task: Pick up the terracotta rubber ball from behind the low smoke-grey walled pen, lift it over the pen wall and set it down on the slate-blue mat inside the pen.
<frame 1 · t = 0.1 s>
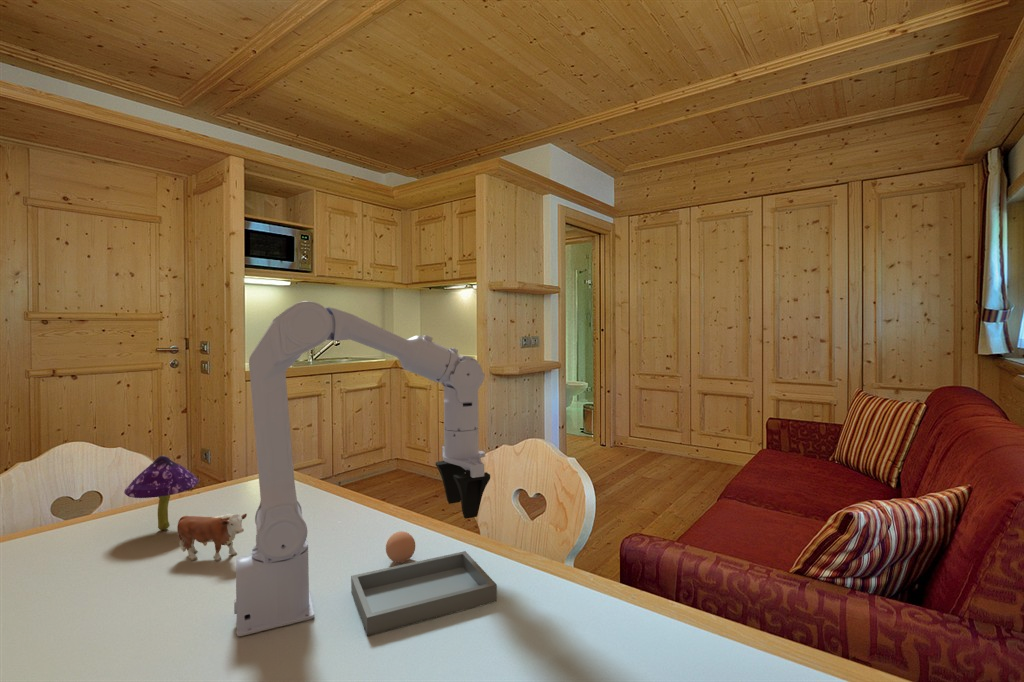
hand: (462, 509, 84), 10 cm above the table, tool pointing down, fingers open, 7 cm apart
decorative mushroom: (164, 530, 102), on the table
walled pen: (422, 596, 76), on the table
bull figurine: (214, 558, 90), on the table
ball: (400, 546, 87), point 2 cm above the table
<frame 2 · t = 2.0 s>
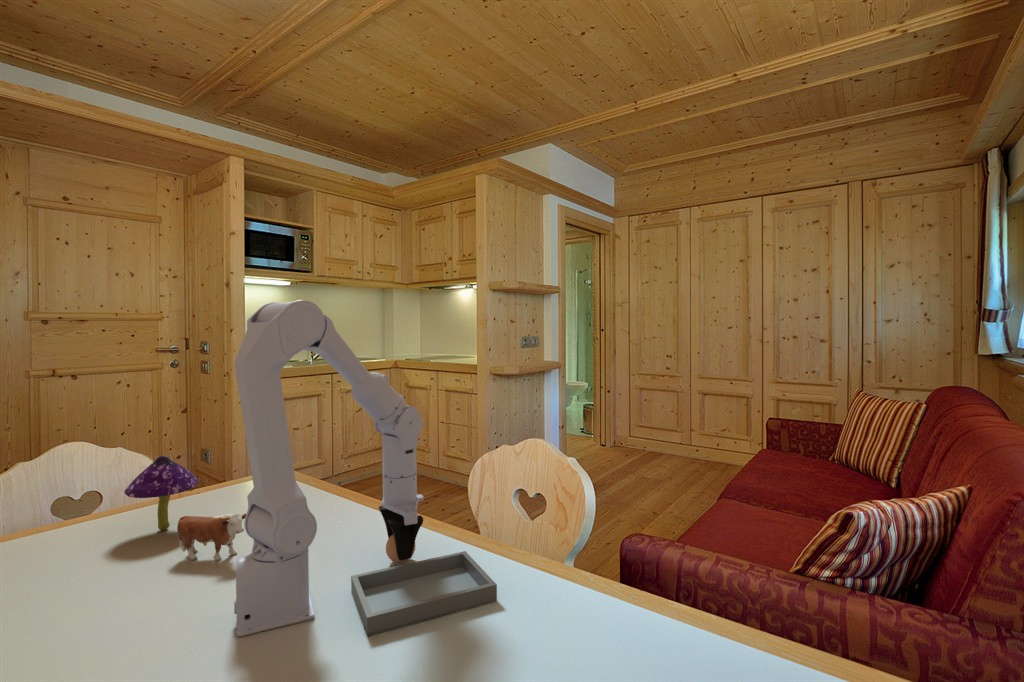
hand: (400, 552, 87), 2 cm above the table, tool pointing down, fingers closed on ball, 5 cm apart
ball: (400, 546, 87), point 2 cm above the table, touching gripper
everything else where it was.
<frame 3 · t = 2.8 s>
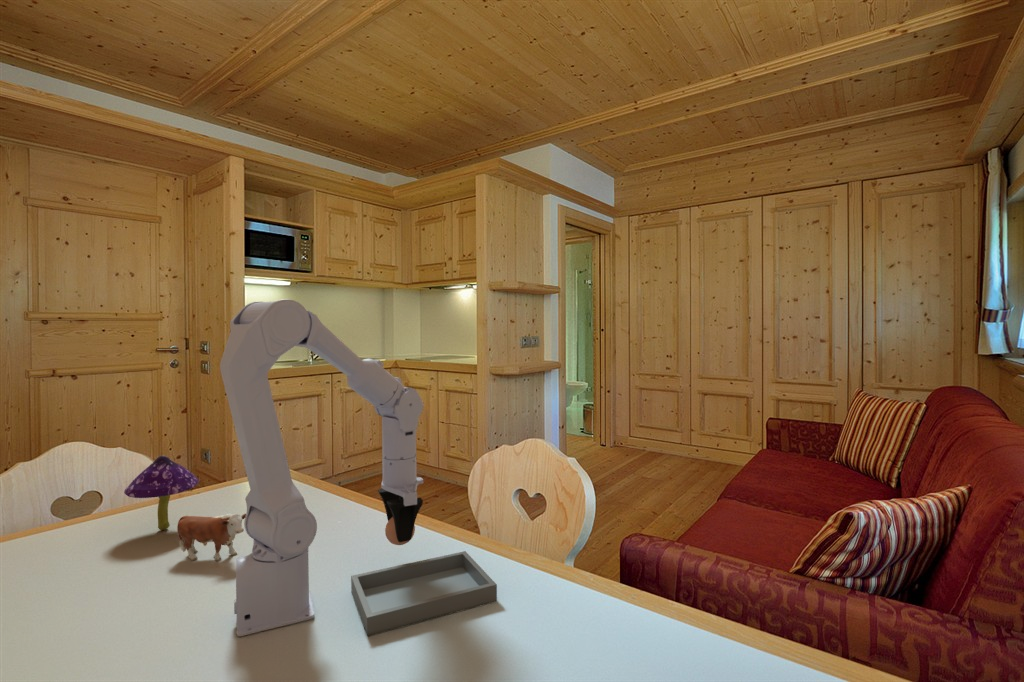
hand: (400, 534, 87), 5 cm above the table, tool pointing down, fingers closed on ball, 5 cm apart
ball: (400, 529, 87), point 6 cm above the table, touching gripper
everything else where it was.
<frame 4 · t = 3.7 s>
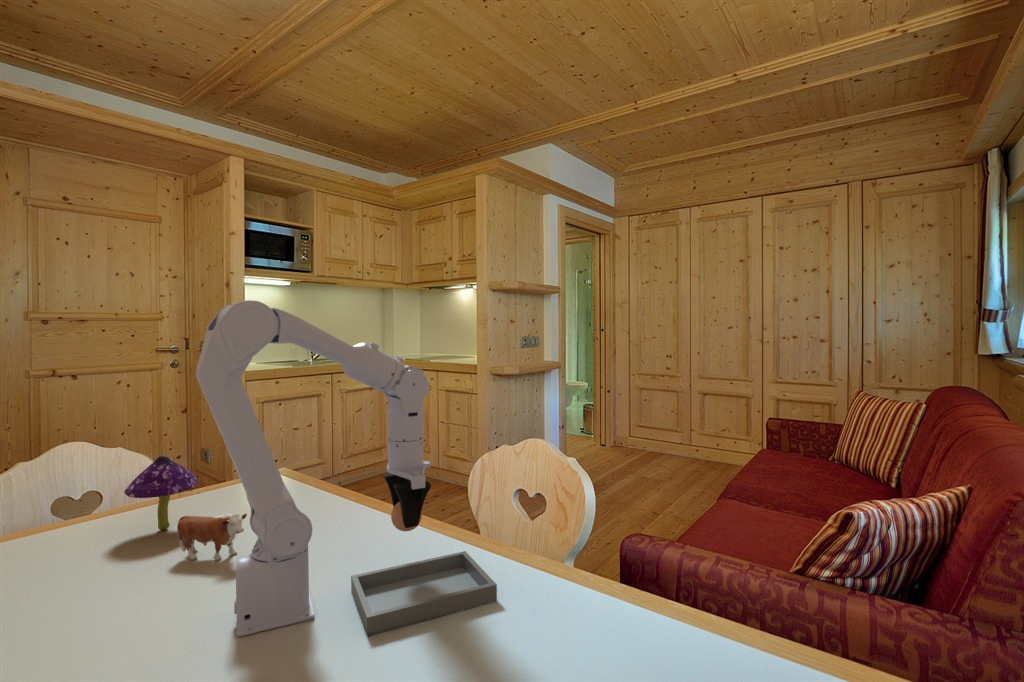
hand: (406, 520, 83), 9 cm above the table, tool pointing down, fingers closed on ball, 5 cm apart
ball: (406, 515, 83), point 9 cm above the table, touching gripper
everything else where it was.
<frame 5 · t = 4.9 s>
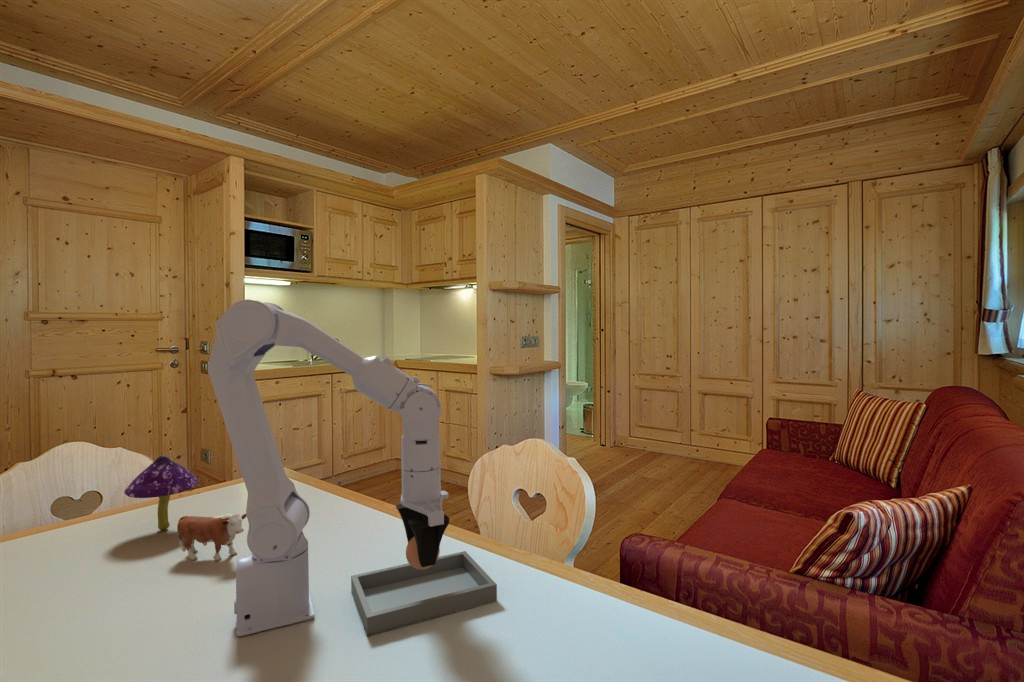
hand: (422, 557, 76), 6 cm above the table, tool pointing down, fingers closed on ball, 5 cm apart
ball: (422, 551, 76), point 7 cm above the table, touching gripper
everything else where it was.
when the fingers open (3 cm above the table, at t = 5.9 s): ball stays where it is, resting on walled pen.
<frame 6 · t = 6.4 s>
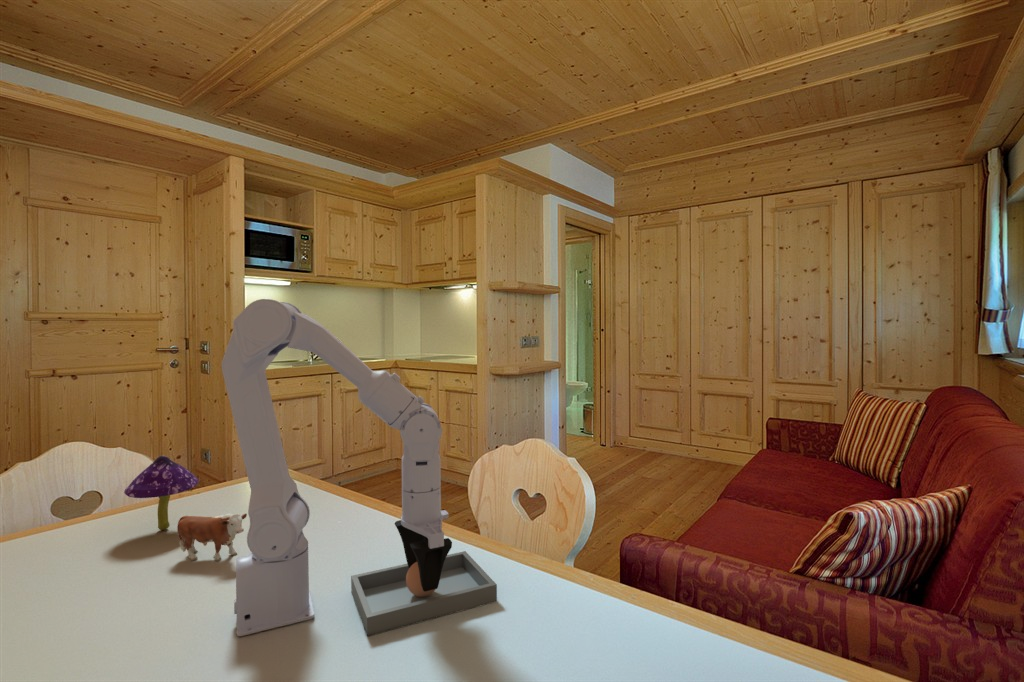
hand: (422, 577, 76), 3 cm above the table, tool pointing down, fingers open, 7 cm apart
ball: (423, 578, 76), point 3 cm above the table, touching walled pen
everything else where it was.
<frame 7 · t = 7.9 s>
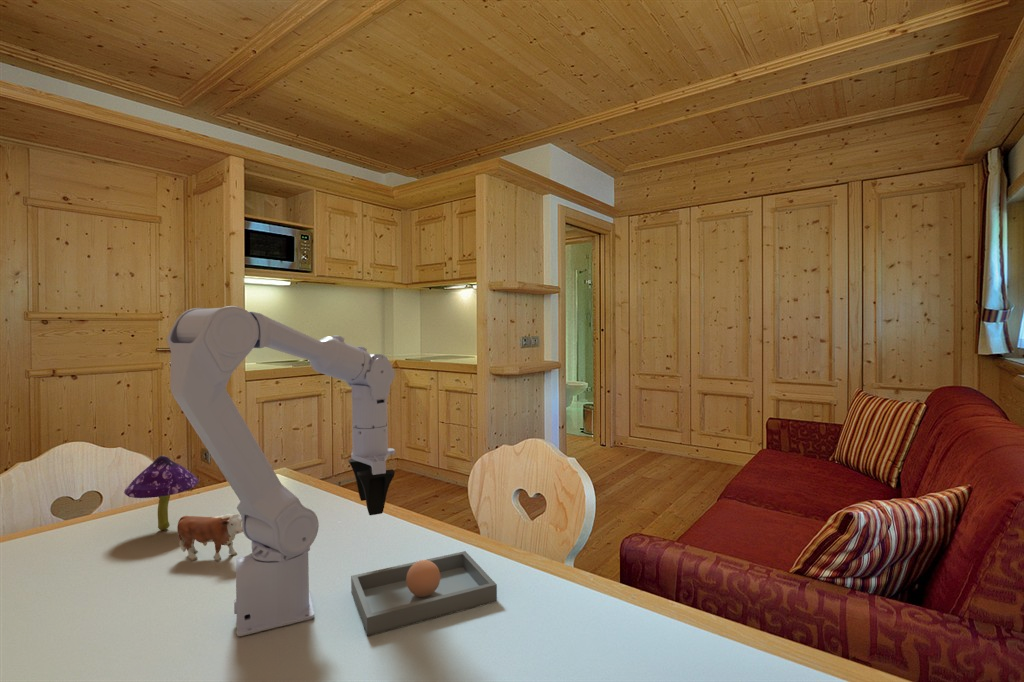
hand: (371, 506, 85), 10 cm above the table, tool pointing down, fingers open, 7 cm apart
nothing on the table moved.
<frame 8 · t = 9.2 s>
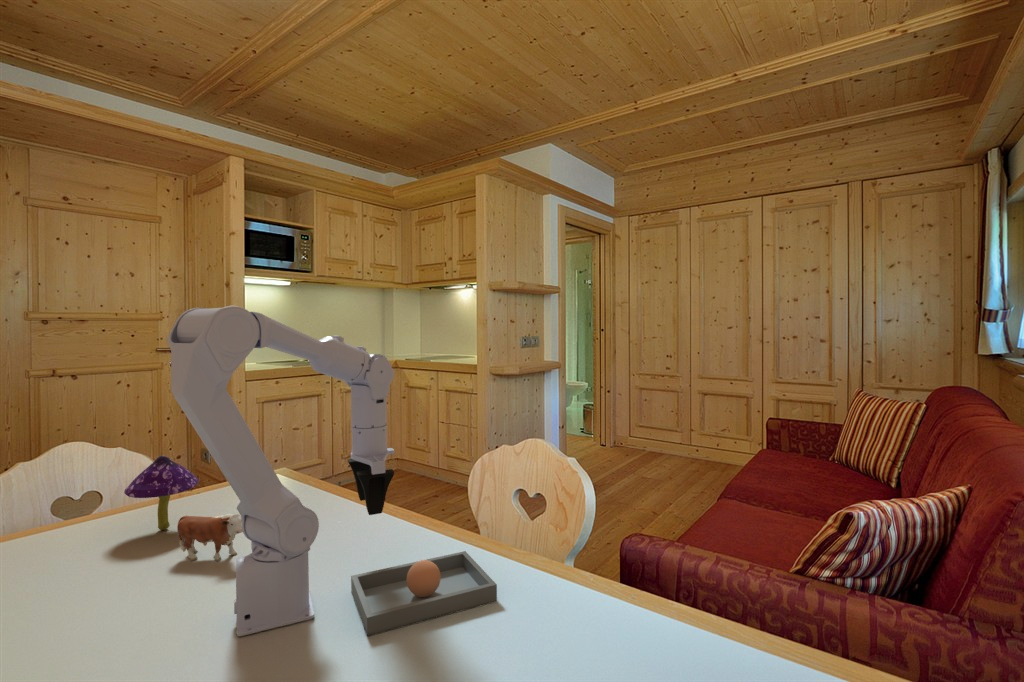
hand: (370, 506, 85), 10 cm above the table, tool pointing down, fingers open, 7 cm apart
nothing on the table moved.
at the end: ball inside the target area on the walled pen (0.2 cm from its centre), point 2.8 cm above the walled pen's base; the gripper is holding nothing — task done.
